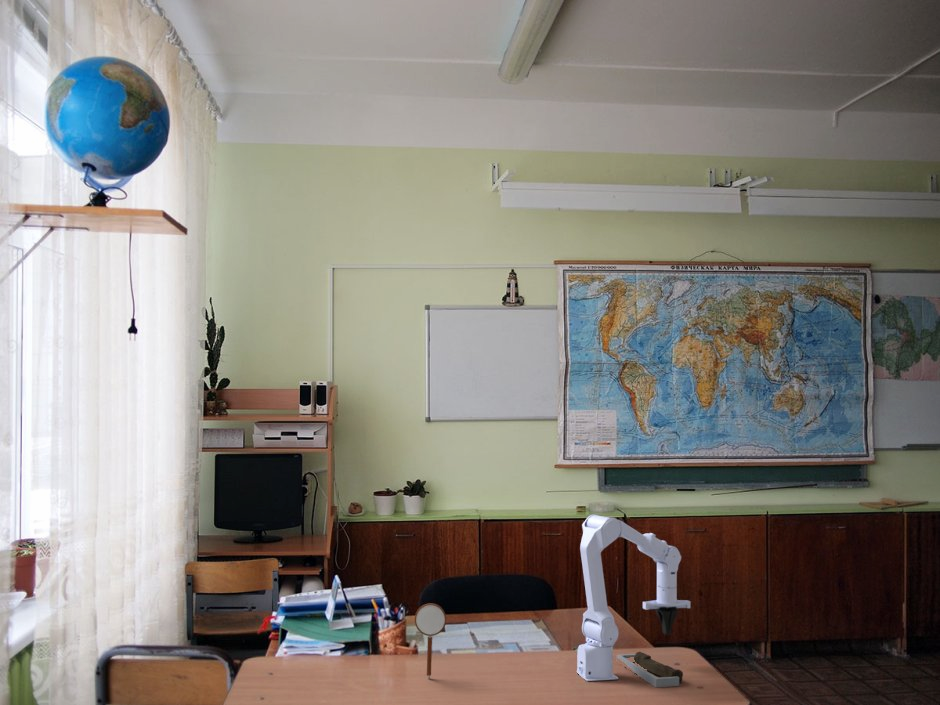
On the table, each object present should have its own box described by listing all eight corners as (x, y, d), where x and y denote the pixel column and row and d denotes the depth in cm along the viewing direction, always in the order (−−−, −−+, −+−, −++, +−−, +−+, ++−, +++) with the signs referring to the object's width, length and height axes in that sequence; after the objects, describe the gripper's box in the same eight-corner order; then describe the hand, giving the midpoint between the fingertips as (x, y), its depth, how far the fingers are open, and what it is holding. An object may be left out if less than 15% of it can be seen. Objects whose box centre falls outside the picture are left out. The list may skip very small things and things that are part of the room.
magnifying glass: (444, 678, 224) (446, 603, 226) (444, 680, 223) (446, 604, 225) (413, 677, 225) (415, 602, 226) (412, 679, 223) (414, 603, 225)
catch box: (655, 687, 221) (655, 678, 221) (616, 662, 244) (616, 654, 244) (679, 685, 223) (679, 677, 223) (637, 661, 246) (638, 653, 246)
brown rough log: (683, 684, 226) (684, 666, 226) (672, 685, 224) (672, 668, 224) (642, 665, 243) (642, 649, 243) (631, 666, 241) (631, 650, 242)
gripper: (681, 583, 249) (681, 629, 247) (638, 584, 245) (637, 631, 244) (694, 587, 242) (694, 635, 241) (649, 589, 238) (648, 637, 237)
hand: (666, 633), depth 242 cm, fingers closed
